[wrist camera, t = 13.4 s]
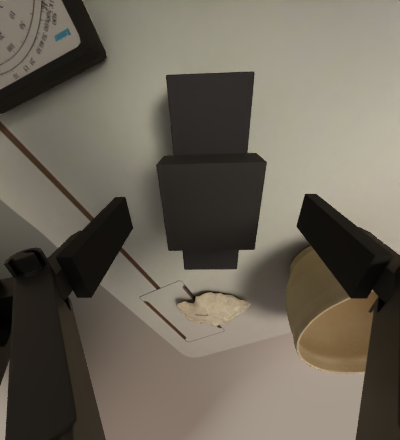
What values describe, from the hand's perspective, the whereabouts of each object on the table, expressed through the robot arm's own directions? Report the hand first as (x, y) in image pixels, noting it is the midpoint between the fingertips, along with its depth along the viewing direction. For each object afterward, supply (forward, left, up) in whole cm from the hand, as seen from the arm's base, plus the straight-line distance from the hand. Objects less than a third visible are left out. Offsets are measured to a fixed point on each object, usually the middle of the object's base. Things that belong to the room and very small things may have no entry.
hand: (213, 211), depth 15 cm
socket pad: (0, 0, -9) cm, 9 cm away
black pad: (0, 0, -5) cm, 5 cm away
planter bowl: (-17, +14, -10) cm, 24 cm away
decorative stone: (-1, +23, -10) cm, 25 cm away
